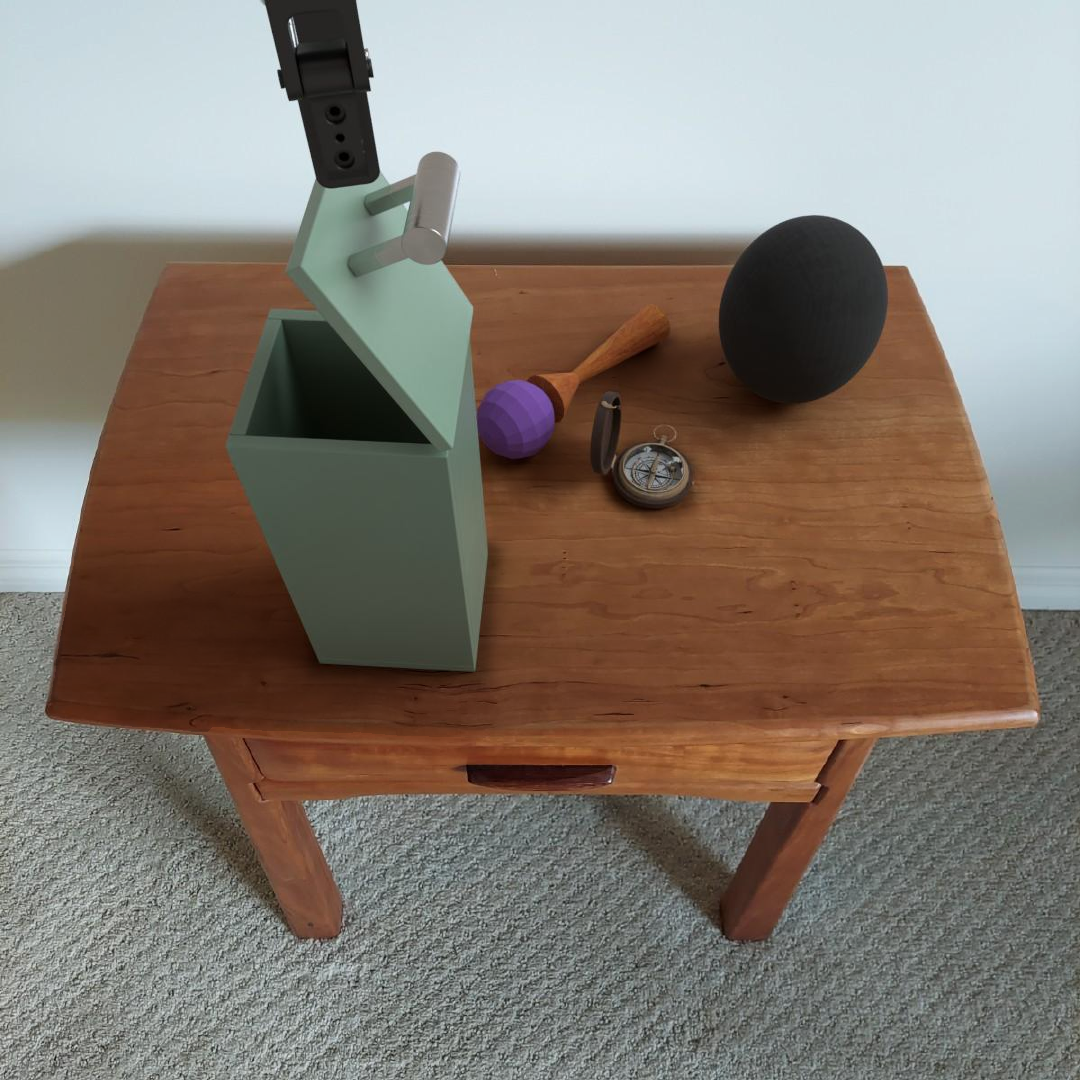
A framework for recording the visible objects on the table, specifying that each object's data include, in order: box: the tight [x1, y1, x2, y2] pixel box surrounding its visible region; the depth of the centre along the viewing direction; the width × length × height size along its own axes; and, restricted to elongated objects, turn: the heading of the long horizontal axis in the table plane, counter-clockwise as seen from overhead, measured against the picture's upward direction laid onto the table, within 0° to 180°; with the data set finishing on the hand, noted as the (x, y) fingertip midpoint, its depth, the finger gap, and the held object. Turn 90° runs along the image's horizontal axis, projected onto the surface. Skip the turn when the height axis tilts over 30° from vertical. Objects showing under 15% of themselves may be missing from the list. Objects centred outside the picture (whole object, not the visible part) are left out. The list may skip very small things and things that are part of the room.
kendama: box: [476, 303, 671, 460], centre depth 74 cm, size 6×6×20 cm
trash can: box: [225, 308, 489, 673], centre depth 55 cm, size 11×10×23 cm
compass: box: [589, 391, 695, 509], centre depth 69 cm, size 8×8×7 cm
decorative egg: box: [718, 214, 889, 405], centre depth 71 cm, size 12×12×15 cm
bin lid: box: [285, 151, 474, 452], centre depth 40 cm, size 11×10×5 cm
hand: (338, 113), depth 35 cm, fingers open, 8 cm apart
